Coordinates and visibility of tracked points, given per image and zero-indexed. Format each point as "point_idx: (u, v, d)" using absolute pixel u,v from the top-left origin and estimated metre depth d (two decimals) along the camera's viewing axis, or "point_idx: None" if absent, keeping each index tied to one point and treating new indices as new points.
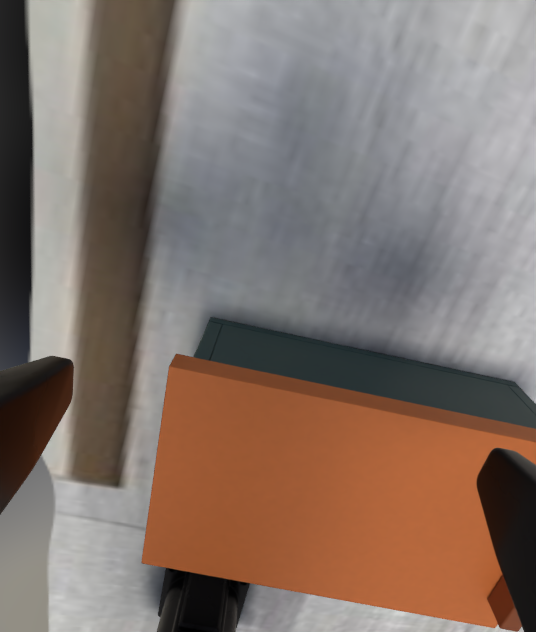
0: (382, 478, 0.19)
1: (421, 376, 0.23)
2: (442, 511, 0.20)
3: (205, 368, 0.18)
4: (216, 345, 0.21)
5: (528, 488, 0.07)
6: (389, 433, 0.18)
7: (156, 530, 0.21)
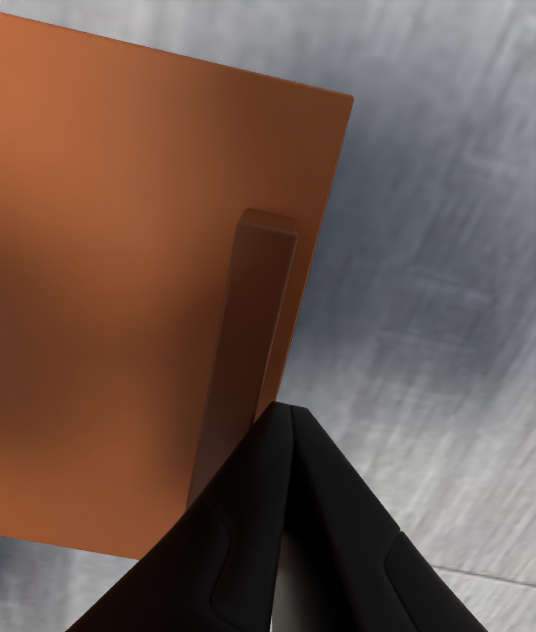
0: None
1: None
2: (7, 287, 0.09)
3: None
4: None
5: None
6: None
7: None
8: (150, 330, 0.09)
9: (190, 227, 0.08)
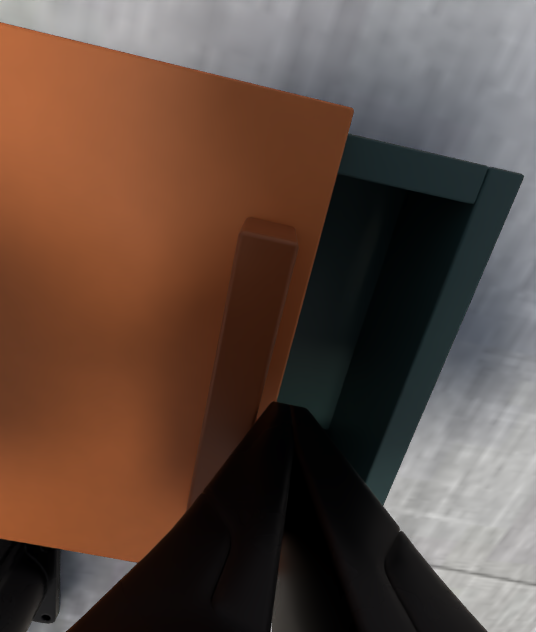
0: None
1: None
2: (10, 293, 0.09)
3: None
4: None
5: None
6: None
7: None
8: (151, 336, 0.09)
9: (192, 235, 0.08)
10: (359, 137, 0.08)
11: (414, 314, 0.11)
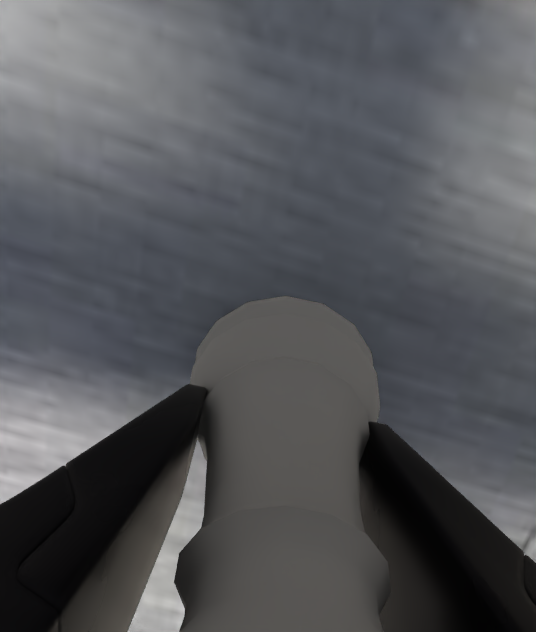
0: None
1: None
2: None
3: None
4: None
5: (381, 458, 0.07)
6: None
7: None
8: None
9: None
10: None
11: None
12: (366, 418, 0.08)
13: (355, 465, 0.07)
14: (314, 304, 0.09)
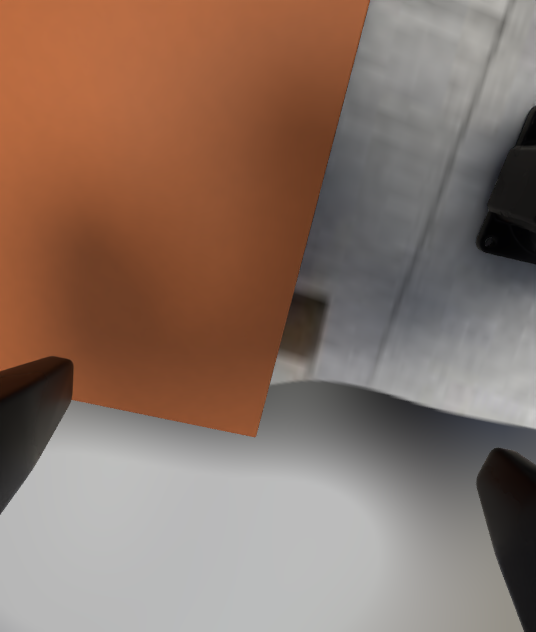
0: (36, 95, 0.12)
1: None
2: None
3: None
4: None
5: (528, 488, 0.07)
6: None
7: (192, 413, 0.16)
8: None
9: None
10: None
11: None
12: None
13: None
14: None
